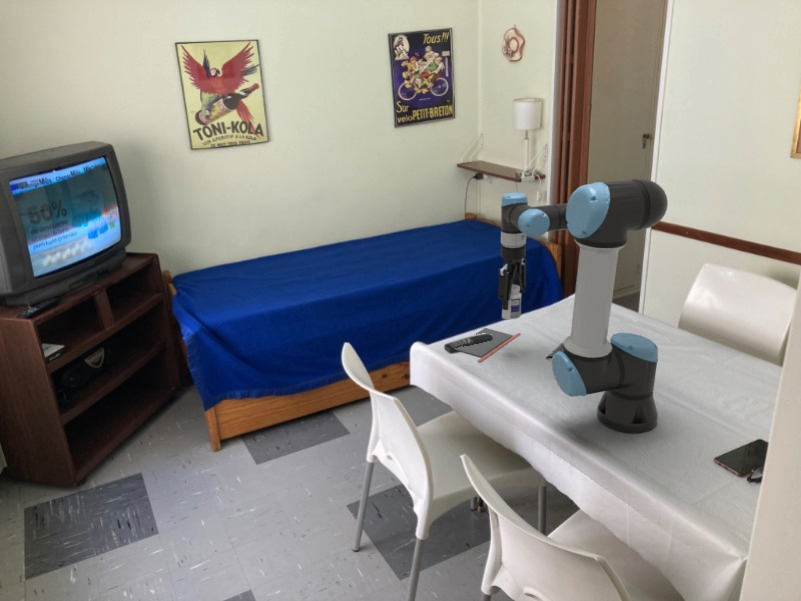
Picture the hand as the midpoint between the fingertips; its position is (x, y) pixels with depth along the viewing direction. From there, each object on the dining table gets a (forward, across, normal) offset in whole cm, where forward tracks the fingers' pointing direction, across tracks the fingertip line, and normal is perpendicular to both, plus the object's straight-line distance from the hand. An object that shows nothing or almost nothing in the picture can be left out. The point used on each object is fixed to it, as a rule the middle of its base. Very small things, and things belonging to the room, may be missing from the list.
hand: (511, 315), depth 204 cm
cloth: (+15, +16, -15) cm, 27 cm away
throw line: (+14, +3, +6) cm, 16 cm away
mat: (+14, +3, +12) cm, 19 cm away
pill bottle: (+1, 0, 0) cm, 1 cm away
